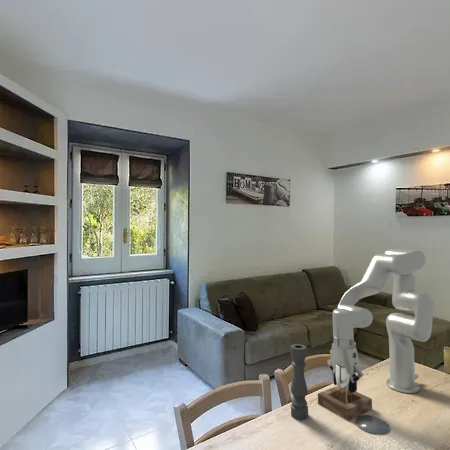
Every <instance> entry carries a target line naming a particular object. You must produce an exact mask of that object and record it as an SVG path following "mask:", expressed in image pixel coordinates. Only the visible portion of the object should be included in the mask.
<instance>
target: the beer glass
mask: <svg viewBox="0 0 450 450" xmlns="http://www.w3.org/2000/svg"><path fill="white" fill-rule="evenodd" d="M335 376H336V383H337V385H336V386H337V388H338V400H339V401H341V402H343V403H345V404H349V403H351V402H354V401H353V393H351V392H350V382H351V380H350V376H349V374H347V371H346V368H342V367H339V366H337V365H336V369H335ZM352 376H353V378H354V374H353V375H352Z"/></svg>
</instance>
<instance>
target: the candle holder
mask: <svg viewBox="0 0 450 450" xmlns="http://www.w3.org/2000/svg"><path fill="white" fill-rule="evenodd" d="M290 356H291V359H292V362H291V366H292V367H293V376H292V380H291V384H290V391H291V394H292V397H293V398H292V400H291V404H290V415H291V417H292V418H293V419H295V420H298V421H305V420H307V419H308V418H309V406H308V401H307V400H306V396H307V395H308V392H309V390H308V386H307V382H306V377H305V367H306V366H307V363H306V362H305V360H306V357H307V346H306V345H304V344H301V343H299V344H296V343H295V344H291V345H290Z"/></svg>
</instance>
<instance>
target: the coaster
mask: <svg viewBox="0 0 450 450" xmlns="http://www.w3.org/2000/svg"><path fill="white" fill-rule="evenodd" d="M354 421H355V422H354V423H355V425H356V426H357V427H358V428H359V429H360V430H361V431H364V432H365V433H368V434H371V435H376V434H383V435H387V434H389V433H390V431H391V427H390V424H389V423H388V422H387V421H386V420H384V419H382V418H381V417H379V416H375V415H370V414H362V415H360V416H358V417H356V418H354Z"/></svg>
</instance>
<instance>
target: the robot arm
mask: <svg viewBox="0 0 450 450" xmlns="http://www.w3.org/2000/svg"><path fill="white" fill-rule="evenodd" d="M426 261H427V257H426V255H425V254H424V252H423V251H421V250H420V249H408V248H407V249H406V248H391V249H387V250H385V251H384V253H376V254H375V255H373V257H372V258H371V260H370V262H369V264H368V266H367V268H366V270H365V272H364V274H363V276H362V279H360V281H359V282H358V283H356V284H355V285H353V286H351V287H350V288H349V289H347V291H346V292H344V294H343V295H342V297H341V299H340V301H339V303H338V304H337V307H336V308H335V309H334V310H332V339H333V342H332V343H331V351H330V358H329V359H327V360H326V363H327V364H328V366H329V369H330V370H331V374H332V375H333V385H334V386H337V383H336V376H335V369H336V365H337V366H339V367H342V368H346V371H347V374H349V376H350V380H351V382H350V392H351V393H353V392H358V391H357V390H358V381H360V380H361V379H362V378H363V377H364V372H363V371H362V370H361V369H360V361H359V354H358V349H357V347H356V345H357V343H356V341H355V338H354V336H355V335H354V334H355V333H354V328H357V329H358V328H363V329H364V328H367V327H369V326H370V325H371V324H372V323H373V319H374V318H373V313H371V311H370V310H369V309H366V308H364V307H359V306H357V305H355V304H357V302H358V301H359V300H362V299H363V298H366V297H369V296H373V295H377V294H379V293H381V292H382V291H383V289H384V286H385V284H386V282H387V279H388V278H389V276H390V275H392V276H393V286H392V295H391V297H392V298H391V303H392V306H393V308H395V309H397V310H399V311H403V312H407V313H411V314H413V313H414V315H410V314H406V313H400V312H392V313H389V315H387V317H386V319H385V326H386V331H387V335H388V346H389V348H388V349H389V352H388V353H389V378H387V379H386V381H385V382H386V383H385V384H386V386H387V387H389V388H390V389H391V390H394V391H396V392H399V393H405V394H415V393H419V391H420V386H419V385H418V383H417V382H416V380H418V379H419V377H420V376H419V374H418V373H416V372H415V368H416V367H415V347H414V343H413V342H412V340H413V341H418V342H423V343H425V342H427V341H428V340H429V339H430V338H431V335H432V331H433V320H434V319H433V318H434V301H433V298H432V297H431V295H430V294H429V293H427V292H425V291H420V290H416V277H415V274H414V273H415V272H417V271H420V270H422V269H423V268H424V266H425V265H426V263H427V262H426ZM353 374H354V378H353V376H352V375H353Z"/></svg>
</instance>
